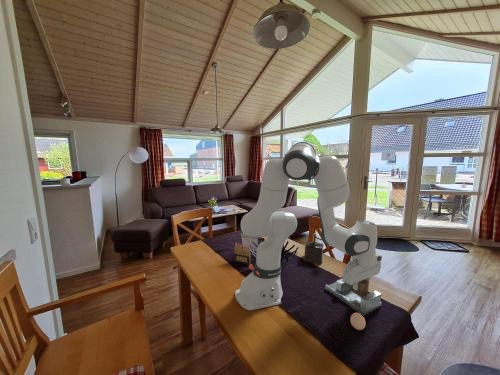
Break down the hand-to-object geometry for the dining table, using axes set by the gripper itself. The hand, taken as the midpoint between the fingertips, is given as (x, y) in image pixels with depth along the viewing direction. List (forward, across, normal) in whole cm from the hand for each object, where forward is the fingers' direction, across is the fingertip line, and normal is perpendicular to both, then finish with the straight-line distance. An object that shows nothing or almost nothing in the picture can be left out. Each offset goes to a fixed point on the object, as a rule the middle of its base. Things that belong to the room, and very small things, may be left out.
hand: (360, 287), depth 91 cm
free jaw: (+6, 0, +8) cm, 10 cm away
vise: (+8, 0, +4) cm, 9 cm away
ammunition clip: (+8, -31, +56) cm, 64 cm away
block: (+3, 0, 0) cm, 3 cm away
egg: (+8, -13, -8) cm, 17 cm away
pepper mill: (+8, +13, +38) cm, 40 cm away
